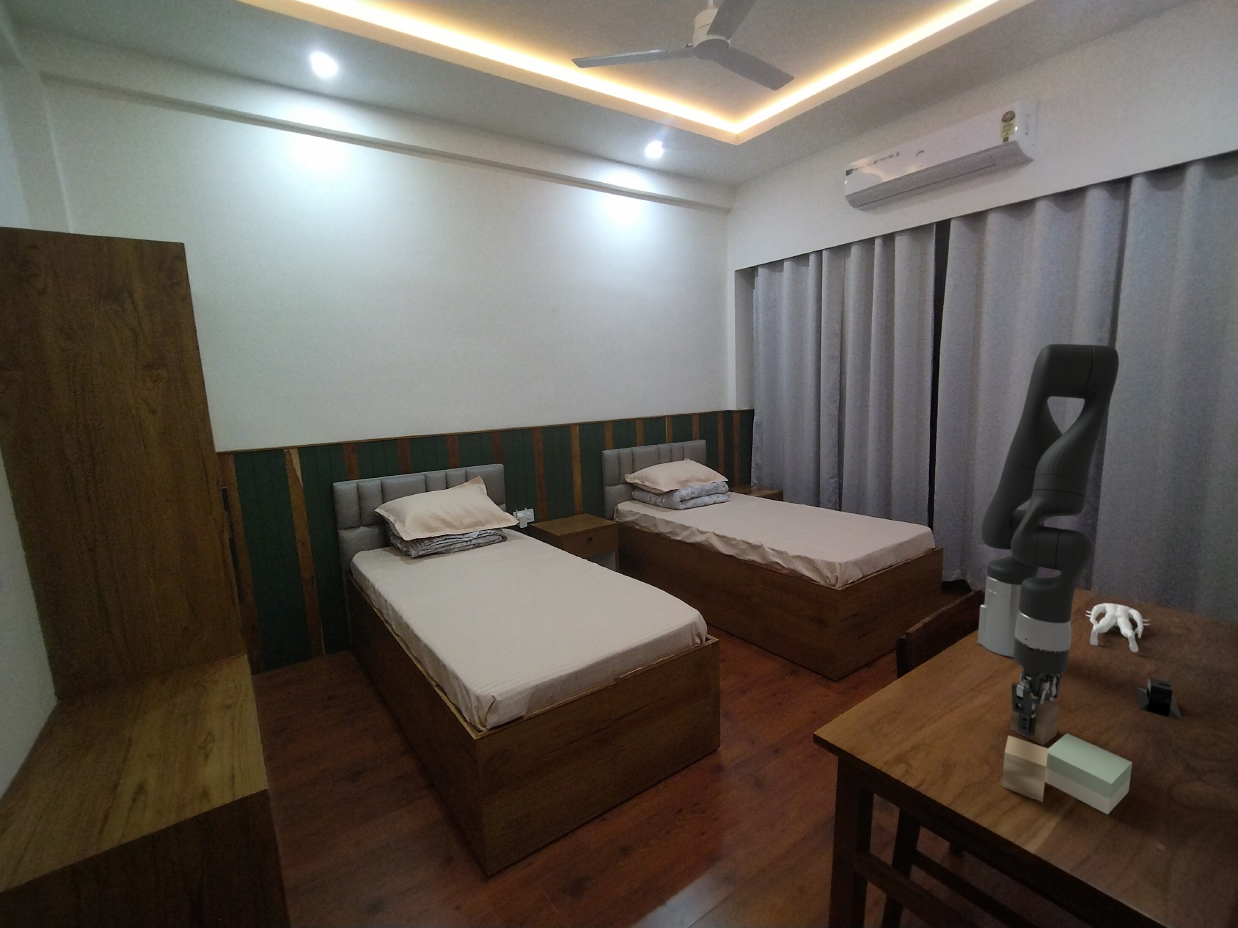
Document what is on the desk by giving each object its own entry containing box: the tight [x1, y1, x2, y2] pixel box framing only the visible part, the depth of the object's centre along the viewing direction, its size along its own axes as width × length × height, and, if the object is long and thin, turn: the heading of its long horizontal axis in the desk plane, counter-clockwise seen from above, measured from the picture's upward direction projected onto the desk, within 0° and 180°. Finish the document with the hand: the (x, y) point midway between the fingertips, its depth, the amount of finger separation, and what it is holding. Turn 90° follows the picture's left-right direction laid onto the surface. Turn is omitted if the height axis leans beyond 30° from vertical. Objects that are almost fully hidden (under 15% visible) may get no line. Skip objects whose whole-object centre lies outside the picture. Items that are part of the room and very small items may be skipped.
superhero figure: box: [1085, 602, 1150, 653], centre depth 130 cm, size 12×6×25 cm
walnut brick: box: [1009, 695, 1060, 746], centre depth 94 cm, size 5×5×6 cm
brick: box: [1001, 735, 1048, 803], centre depth 82 cm, size 5×5×6 cm
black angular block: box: [1135, 677, 1183, 721], centre depth 101 cm, size 12×7×5 cm, turn 140°
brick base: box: [1045, 733, 1133, 815], centre depth 81 cm, size 8×8×5 cm
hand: (1033, 727), depth 94 cm, fingers closed on walnut brick, 5 cm apart
